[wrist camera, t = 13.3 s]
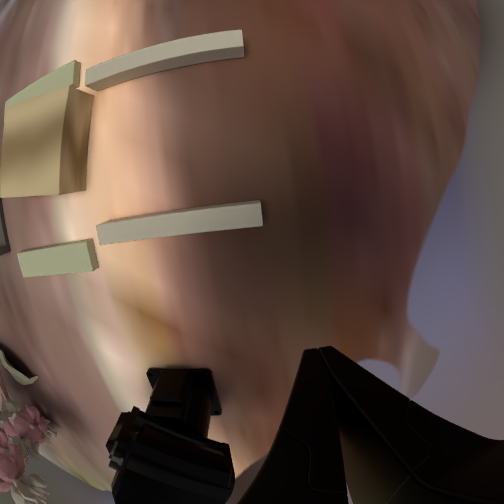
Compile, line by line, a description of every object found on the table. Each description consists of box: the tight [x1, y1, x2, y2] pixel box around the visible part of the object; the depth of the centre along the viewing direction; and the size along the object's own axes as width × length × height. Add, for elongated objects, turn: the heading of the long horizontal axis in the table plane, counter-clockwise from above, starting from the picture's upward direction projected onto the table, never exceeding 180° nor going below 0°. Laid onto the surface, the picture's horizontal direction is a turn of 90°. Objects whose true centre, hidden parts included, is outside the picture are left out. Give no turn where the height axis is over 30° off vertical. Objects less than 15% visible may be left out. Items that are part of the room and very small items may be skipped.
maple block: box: [0, 86, 94, 198], centre depth 16 cm, size 8×8×4 cm
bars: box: [4, 60, 98, 277], centre depth 18 cm, size 18×10×1 cm, turn 6°
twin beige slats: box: [85, 30, 263, 245], centre depth 17 cm, size 14×12×2 cm
